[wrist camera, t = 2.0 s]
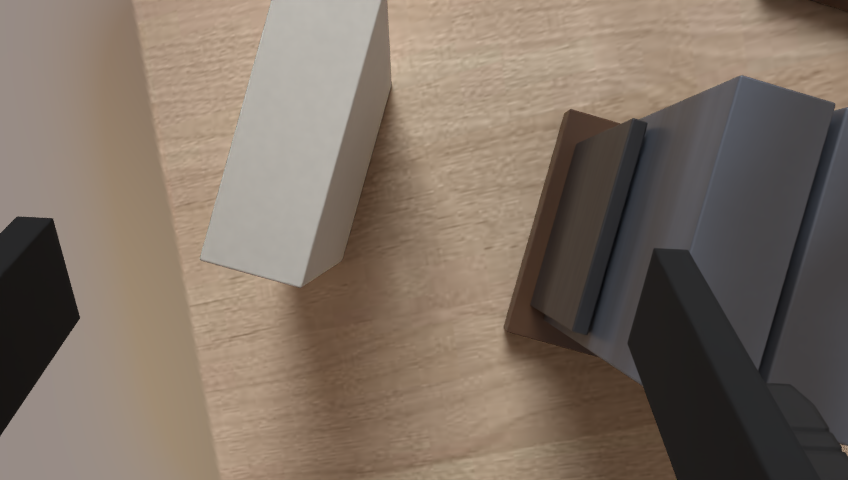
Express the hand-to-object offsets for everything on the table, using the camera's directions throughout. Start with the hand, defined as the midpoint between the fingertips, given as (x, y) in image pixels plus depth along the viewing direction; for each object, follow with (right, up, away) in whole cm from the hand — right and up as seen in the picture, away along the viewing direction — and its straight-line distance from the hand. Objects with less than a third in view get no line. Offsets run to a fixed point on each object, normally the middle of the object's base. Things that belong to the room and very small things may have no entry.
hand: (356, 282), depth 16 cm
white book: (-3, +5, +18) cm, 19 cm away
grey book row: (+13, 0, +19) cm, 23 cm away
